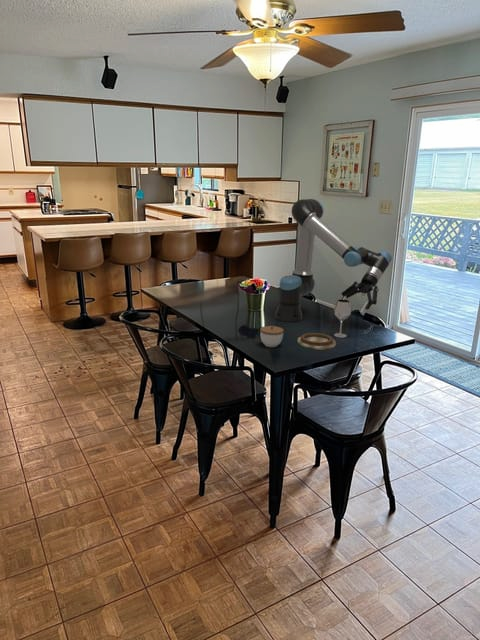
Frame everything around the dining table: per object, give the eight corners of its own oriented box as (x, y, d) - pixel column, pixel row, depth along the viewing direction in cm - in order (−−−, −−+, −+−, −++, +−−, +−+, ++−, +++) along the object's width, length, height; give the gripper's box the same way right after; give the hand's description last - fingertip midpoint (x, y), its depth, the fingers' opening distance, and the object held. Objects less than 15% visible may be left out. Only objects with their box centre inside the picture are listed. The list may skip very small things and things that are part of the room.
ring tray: (294, 347, 221) (295, 341, 220) (300, 335, 238) (300, 330, 237) (334, 351, 217) (334, 345, 216) (337, 339, 233) (337, 334, 233)
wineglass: (345, 339, 234) (348, 303, 229) (329, 336, 238) (332, 301, 233) (350, 335, 241) (354, 300, 236) (335, 332, 245) (338, 298, 240)
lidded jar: (284, 348, 218) (285, 329, 216) (261, 348, 217) (262, 329, 215) (280, 341, 228) (281, 322, 226) (258, 341, 228) (259, 322, 225)
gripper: (395, 286, 236) (374, 320, 231) (354, 278, 254) (334, 309, 249) (390, 277, 231) (368, 311, 226) (349, 269, 250) (328, 301, 245)
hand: (350, 310), depth 238 cm, fingers open, 13 cm apart
